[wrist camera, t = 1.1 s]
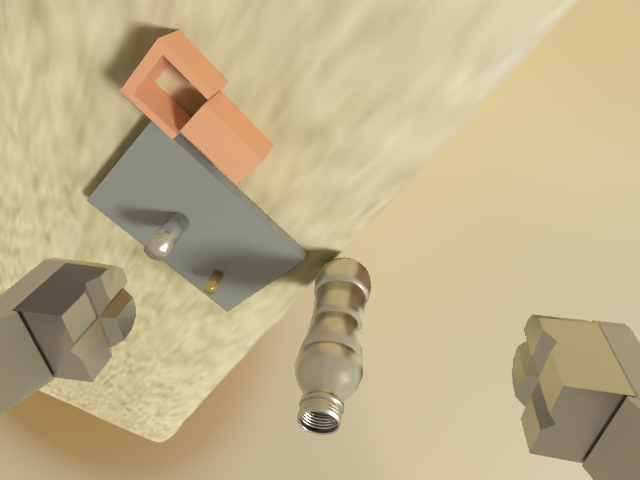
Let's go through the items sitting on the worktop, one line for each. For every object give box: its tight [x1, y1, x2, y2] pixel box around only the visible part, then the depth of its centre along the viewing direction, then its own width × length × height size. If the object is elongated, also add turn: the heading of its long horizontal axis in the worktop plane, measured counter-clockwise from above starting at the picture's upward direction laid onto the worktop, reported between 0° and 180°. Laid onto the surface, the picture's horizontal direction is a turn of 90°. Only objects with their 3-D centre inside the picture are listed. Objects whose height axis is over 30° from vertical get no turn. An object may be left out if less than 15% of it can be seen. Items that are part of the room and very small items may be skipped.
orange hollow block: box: [120, 30, 273, 185], centre depth 40 cm, size 13×7×4 cm, turn 43°
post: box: [144, 212, 223, 295], centre depth 49 cm, size 10×2×6 cm, turn 22°
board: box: [87, 121, 307, 312], centre depth 50 cm, size 22×15×2 cm
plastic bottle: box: [295, 258, 371, 435], centre depth 43 cm, size 6×7×20 cm
